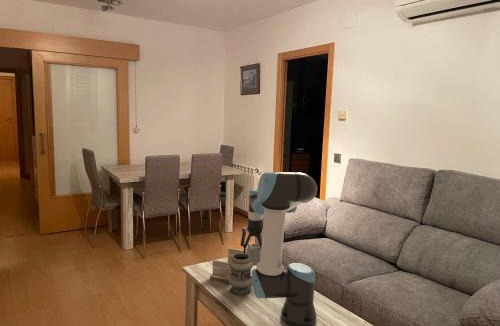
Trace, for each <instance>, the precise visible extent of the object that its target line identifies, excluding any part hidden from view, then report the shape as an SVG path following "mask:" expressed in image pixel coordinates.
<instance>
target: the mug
mask: <svg viewBox="0 0 500 326" xmlns="http://www.w3.org/2000/svg"><path fill="white" fill-rule="evenodd" d="M247 247H248V249H247V252H246V254H248V255H249V256H250V259H251V260H252V262H253V266H254V267H256V266H257V264H258V263H259V257H260V250H261V248H260V245H259V243H251V244H249V243H248V245H247Z"/></svg>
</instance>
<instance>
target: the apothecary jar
mask: <svg viewBox="0 0 500 326" xmlns="http://www.w3.org/2000/svg"><path fill="white" fill-rule="evenodd" d="M229 266H230V268H231V275H230V277H229V283H230V284H229V285H230V286H231V288H230V289H229V290H230V293H232V295H234V296H239V297H243V296H247V295H249V294H250V293H251V288H250V286H252V285H253V281H252V270H251V269H253V262H252V260H251V259H250V256H249V255H248V254H245V253H237V254H234V255H233V258H232V259H231V260H230V262H229Z"/></svg>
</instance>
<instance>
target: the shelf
mask: <svg viewBox="0 0 500 326" xmlns="http://www.w3.org/2000/svg"><path fill="white" fill-rule="evenodd" d="M237 253H244V249H239V248H234V247H228V249H227V261H224V260H223V261H222V260H218V259H212V274H210V276H209V280H210V281H215V282H218V283H224V284H227V285H230V283H229V277H230V275H231V268H230V266H229V262H230V260H231V259H232V258H233V255H234V254H237Z"/></svg>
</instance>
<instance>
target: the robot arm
mask: <svg viewBox="0 0 500 326" xmlns="http://www.w3.org/2000/svg"><path fill="white" fill-rule="evenodd" d="M258 180H259V181H258V183H257V184H258V185H257V188H252V189H250V190H249V192H248V211H247V212H248V216H247V217H248V219H247V227H243V228H242V229H241V231H242V234H241V239H240V247H243V250H244V253H245V254H246V252H247V249H248V244H249V242H250V240H251V238H252V237H256V239H257V243H258V244H259V245H260V248H261V250H260V257H259V263H258V264H257V266H255V267H256V268H252V270H251V276H252V281H253V283H252V286H253V287H252V288H253V291H254V296H255V297H256V298H257V299H266V300H267V299H277V298H278V299H280V298H282V299H283V298H285V301H284V304H283V305H282V308H281V311H280V312H281V313H280V319H281V320H282V322H283V323H285V324H286V325H288V326H314V325H315V324H316V322H317V312H316V309H315V305H314V304H315V303H314V297H315V296H314V295H315V287H316V286H315V285H316V272H315V271H314V269H313V268H312V267H310V266H309V265H307V264H304V263H299V262H292V263H289V264H288V265H287V267H286V268H285V266H284V264H282V258H283V246H284V234H285V222H286V213H287V214H290V213H296V211H297V208H298V206H300V205H301V204H306V203H309V202H311V201H313V199H315V197H316V196H317V194H318V193H317V192H318V185H317V183H316V181H315V179H314V178H312V176H310V175H308V174H306V173H303V172H290V171H289V172H288V171H287V172H283V171H282V172H281V171H280V172H279V171H278V172H277V171H271V172H267V171H266V172H264V173H262V174H261V176H260V177H259V179H258ZM247 232H248V236H247V238H246V235H247Z"/></svg>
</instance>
